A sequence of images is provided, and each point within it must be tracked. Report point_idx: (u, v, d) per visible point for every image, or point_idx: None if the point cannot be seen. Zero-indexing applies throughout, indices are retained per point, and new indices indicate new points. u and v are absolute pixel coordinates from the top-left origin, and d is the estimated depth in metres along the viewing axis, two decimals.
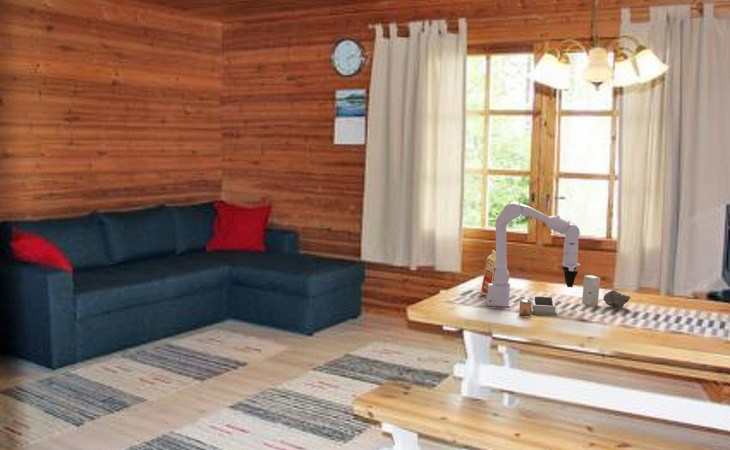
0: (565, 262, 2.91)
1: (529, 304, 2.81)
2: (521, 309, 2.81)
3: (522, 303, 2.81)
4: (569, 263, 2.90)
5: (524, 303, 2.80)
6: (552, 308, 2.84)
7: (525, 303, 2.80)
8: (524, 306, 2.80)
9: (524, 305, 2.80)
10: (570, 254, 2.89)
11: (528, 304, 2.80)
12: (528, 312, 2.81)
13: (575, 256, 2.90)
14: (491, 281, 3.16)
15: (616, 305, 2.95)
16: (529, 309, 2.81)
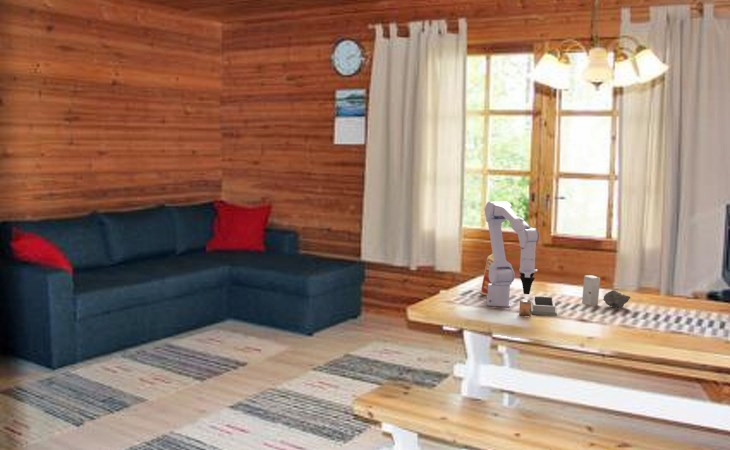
0: (522, 268, 2.79)
1: (529, 304, 2.81)
2: (521, 309, 2.81)
3: (522, 303, 2.81)
4: (526, 269, 2.78)
5: (524, 303, 2.80)
6: (552, 308, 2.84)
7: (525, 303, 2.80)
8: (524, 306, 2.80)
9: (524, 305, 2.80)
10: (527, 260, 2.78)
11: (528, 304, 2.80)
12: (528, 312, 2.81)
13: (532, 262, 2.78)
14: None
15: (616, 305, 2.95)
16: (529, 309, 2.81)
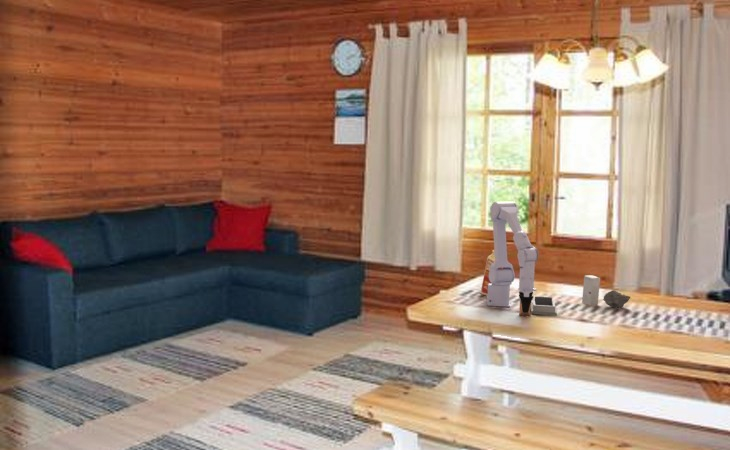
0: (521, 287, 2.80)
1: None
2: (521, 309, 2.81)
3: None
4: (525, 288, 2.79)
5: None
6: (552, 308, 2.84)
7: None
8: None
9: None
10: (526, 279, 2.79)
11: None
12: (528, 312, 2.81)
13: (531, 281, 2.79)
14: None
15: (616, 305, 2.95)
16: (529, 309, 2.81)
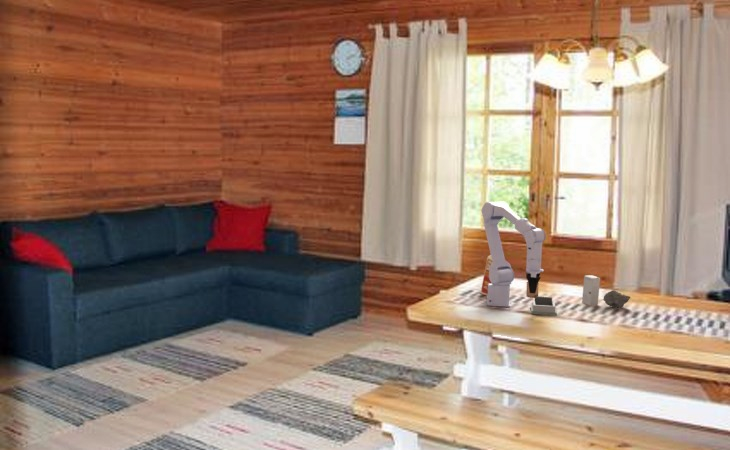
0: (528, 268, 2.82)
1: None
2: (528, 290, 2.83)
3: None
4: (532, 269, 2.81)
5: None
6: (552, 308, 2.84)
7: None
8: None
9: None
10: (533, 260, 2.80)
11: None
12: (535, 293, 2.82)
13: (538, 262, 2.80)
14: None
15: (616, 305, 2.95)
16: (536, 290, 2.82)
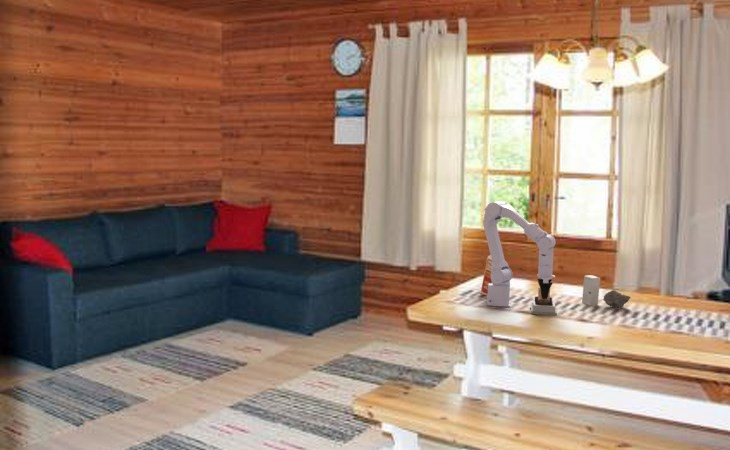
0: (540, 274, 2.86)
1: None
2: (540, 296, 2.88)
3: None
4: (544, 275, 2.85)
5: None
6: (552, 308, 2.84)
7: None
8: None
9: None
10: (545, 266, 2.85)
11: None
12: (547, 299, 2.87)
13: (550, 268, 2.85)
14: (491, 281, 3.16)
15: (616, 305, 2.95)
16: (548, 296, 2.87)
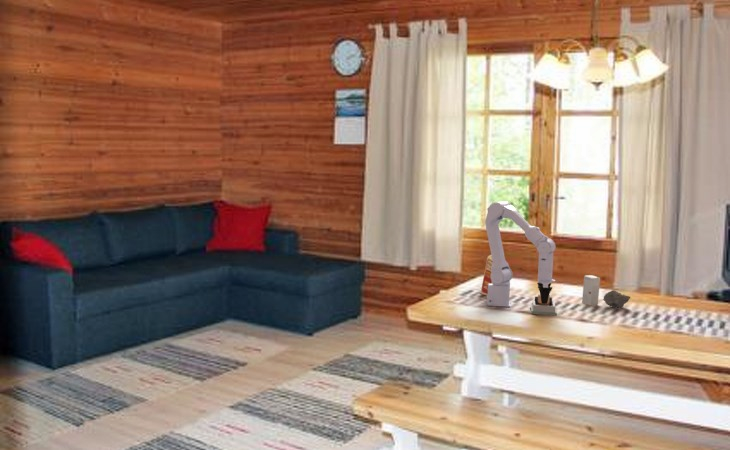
0: (540, 278, 2.87)
1: (548, 298, 2.87)
2: (540, 303, 2.88)
3: None
4: (544, 279, 2.86)
5: None
6: (552, 308, 2.84)
7: None
8: None
9: None
10: (544, 270, 2.85)
11: None
12: None
13: (550, 272, 2.85)
14: (491, 281, 3.16)
15: (616, 305, 2.95)
16: (547, 303, 2.88)
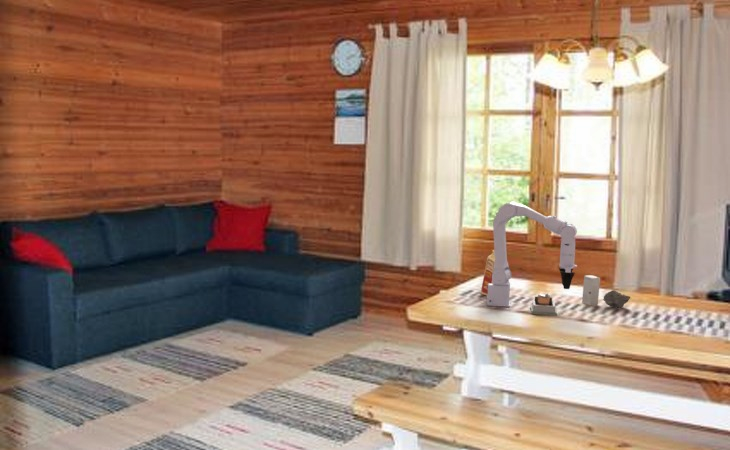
0: (562, 263, 2.86)
1: (548, 298, 2.87)
2: (540, 303, 2.88)
3: (541, 297, 2.87)
4: (566, 264, 2.85)
5: (543, 297, 2.87)
6: (552, 308, 2.84)
7: (544, 297, 2.87)
8: (543, 300, 2.87)
9: (543, 299, 2.87)
10: (567, 255, 2.84)
11: (547, 298, 2.87)
12: None
13: (572, 257, 2.84)
14: (491, 281, 3.16)
15: (616, 305, 2.95)
16: (547, 303, 2.88)
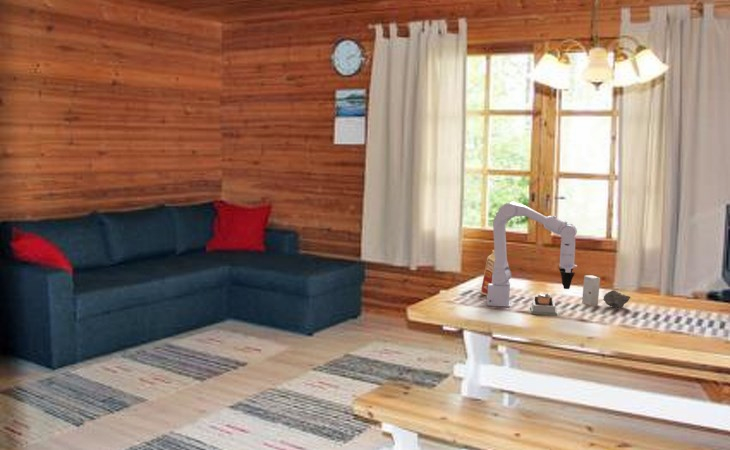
0: (562, 263, 2.86)
1: (548, 298, 2.87)
2: (540, 303, 2.88)
3: (541, 297, 2.87)
4: (566, 264, 2.85)
5: (543, 297, 2.87)
6: (552, 308, 2.84)
7: (544, 297, 2.87)
8: (543, 300, 2.87)
9: (543, 299, 2.87)
10: (567, 255, 2.84)
11: (547, 298, 2.87)
12: None
13: (572, 257, 2.84)
14: (491, 281, 3.16)
15: (616, 305, 2.95)
16: (547, 303, 2.88)
